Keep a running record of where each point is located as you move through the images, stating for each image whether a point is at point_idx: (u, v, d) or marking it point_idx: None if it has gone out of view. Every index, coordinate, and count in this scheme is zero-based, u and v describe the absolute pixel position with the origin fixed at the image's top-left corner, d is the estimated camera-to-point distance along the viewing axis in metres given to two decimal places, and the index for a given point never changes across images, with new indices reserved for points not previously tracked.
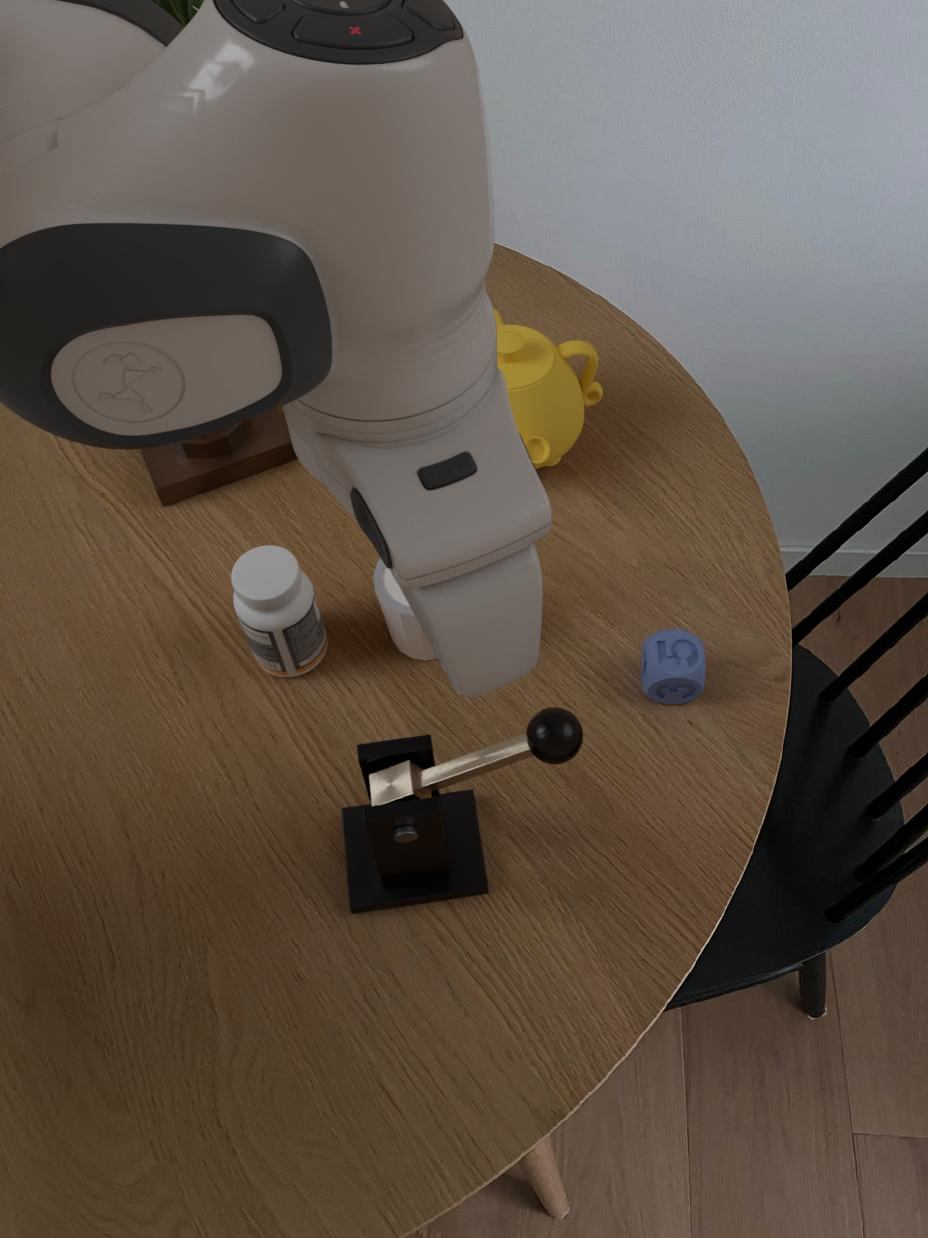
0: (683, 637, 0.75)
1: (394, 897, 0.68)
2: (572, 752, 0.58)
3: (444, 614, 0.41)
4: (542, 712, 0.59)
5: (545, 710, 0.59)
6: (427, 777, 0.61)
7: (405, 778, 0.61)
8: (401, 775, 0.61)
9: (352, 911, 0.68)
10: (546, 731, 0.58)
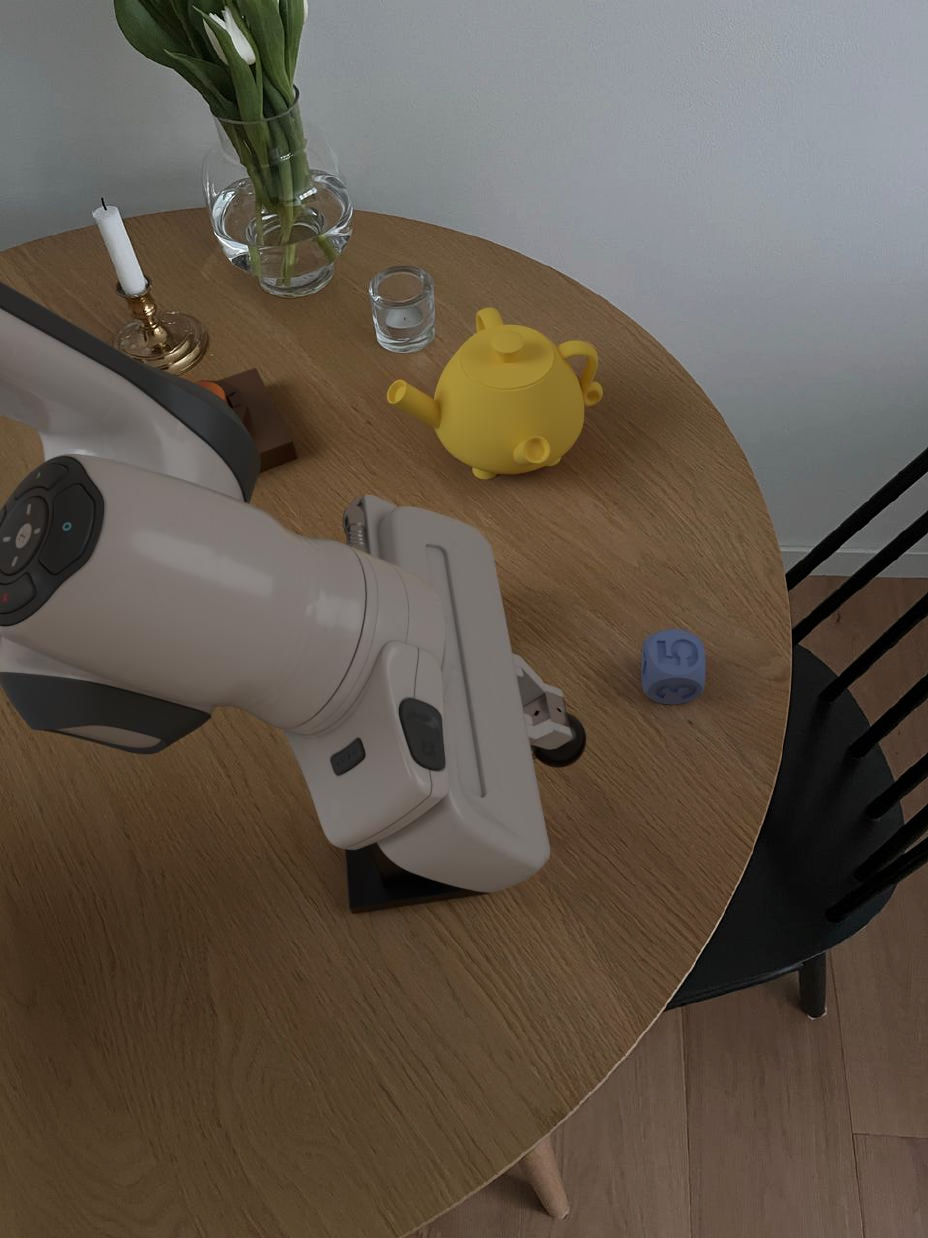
0: (683, 637, 0.75)
1: (394, 897, 0.68)
2: (576, 756, 0.59)
3: (398, 860, 0.47)
4: None
5: None
6: None
7: None
8: None
9: (352, 911, 0.68)
10: None
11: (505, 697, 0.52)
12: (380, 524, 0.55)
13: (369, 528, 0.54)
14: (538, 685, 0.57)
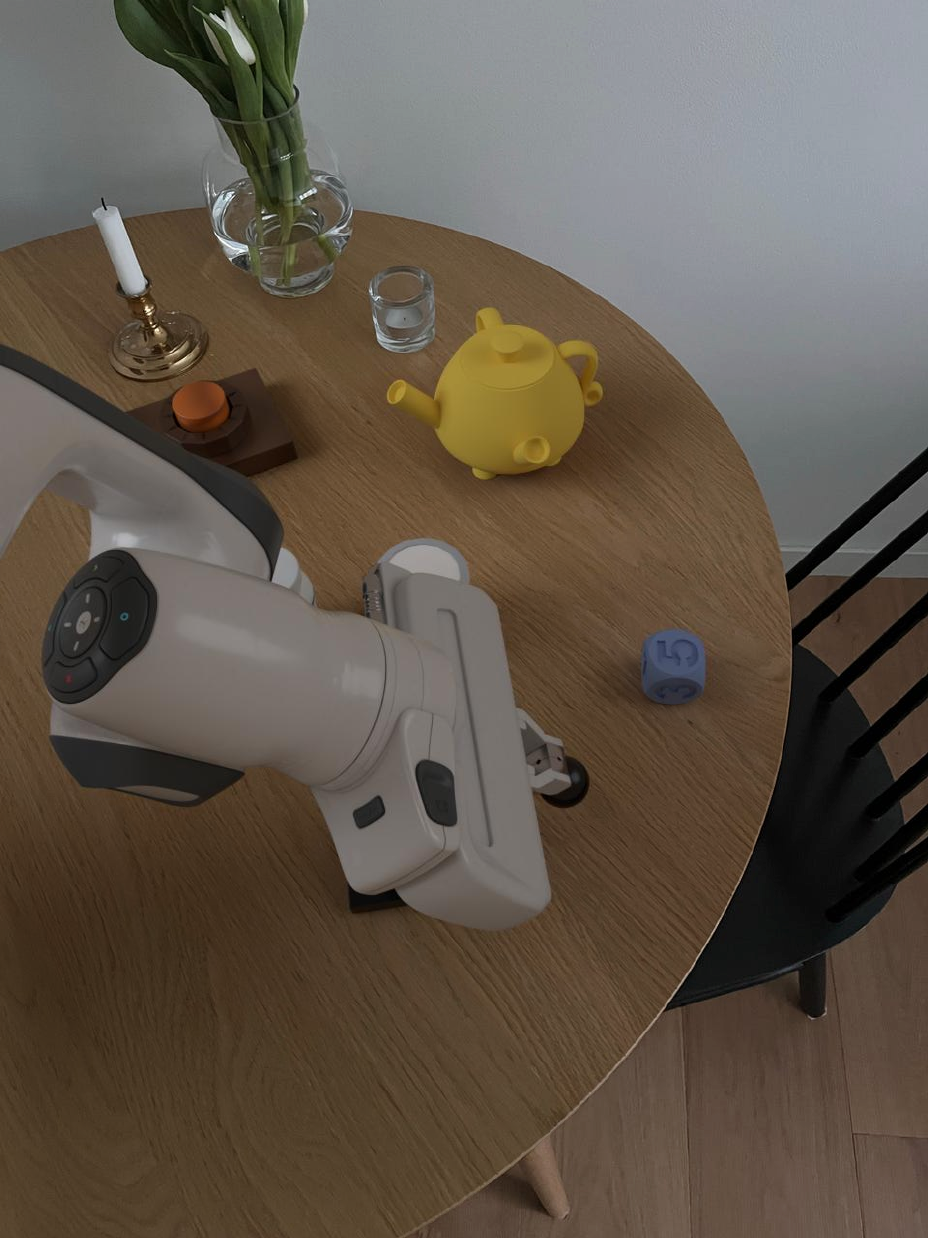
0: (683, 637, 0.75)
1: (394, 897, 0.68)
2: (580, 801, 0.64)
3: (413, 904, 0.52)
4: None
5: (567, 757, 0.64)
6: None
7: None
8: None
9: (352, 911, 0.68)
10: (571, 776, 0.63)
11: (510, 751, 0.57)
12: (395, 590, 0.60)
13: (385, 594, 0.59)
14: (540, 736, 0.62)
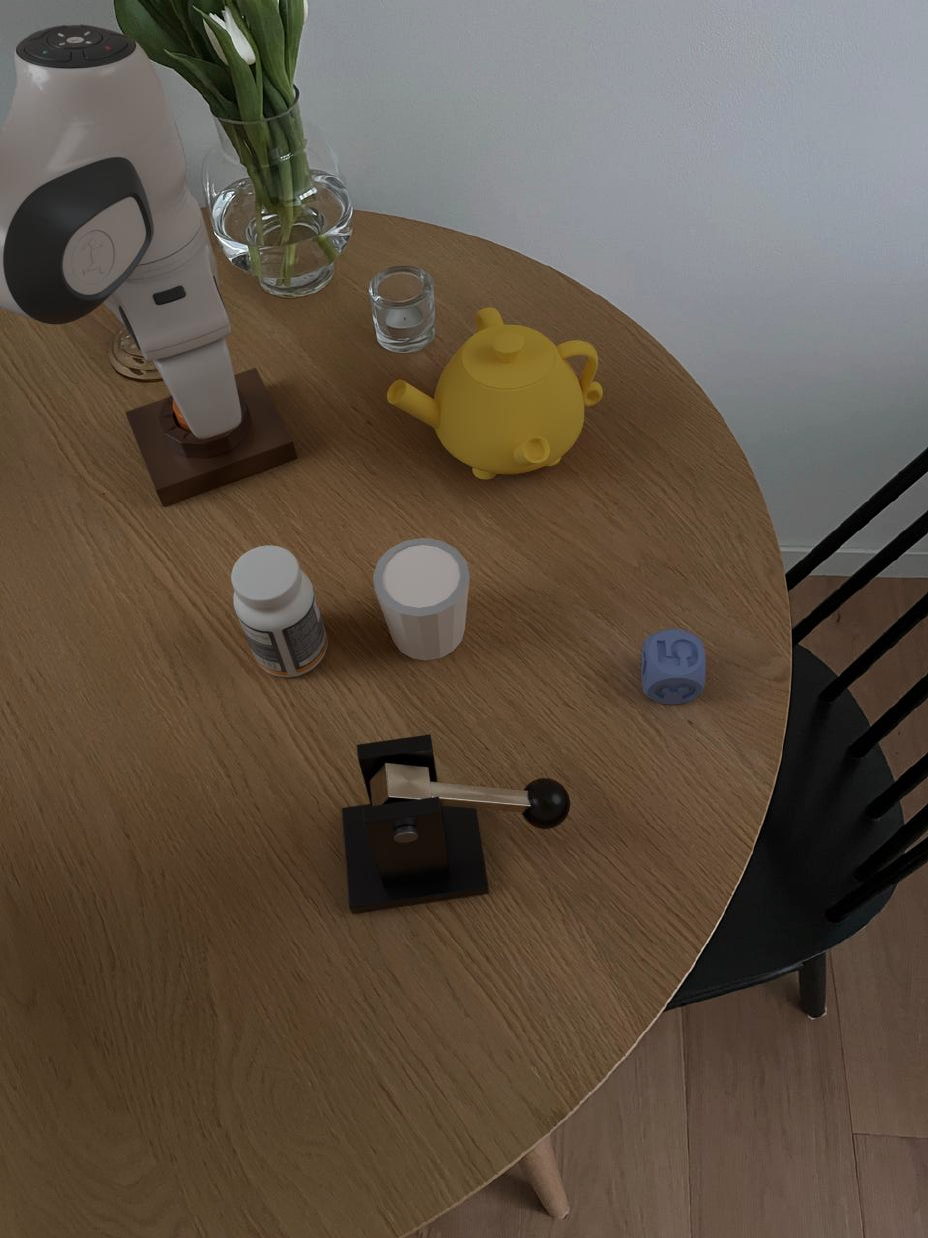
0: (683, 637, 0.75)
1: (394, 897, 0.68)
2: None
3: (172, 377, 0.74)
4: (552, 781, 0.67)
5: (553, 780, 0.67)
6: (436, 790, 0.63)
7: (425, 783, 0.62)
8: (421, 778, 0.62)
9: (352, 911, 0.68)
10: (559, 799, 0.66)
11: None
12: None
13: None
14: None
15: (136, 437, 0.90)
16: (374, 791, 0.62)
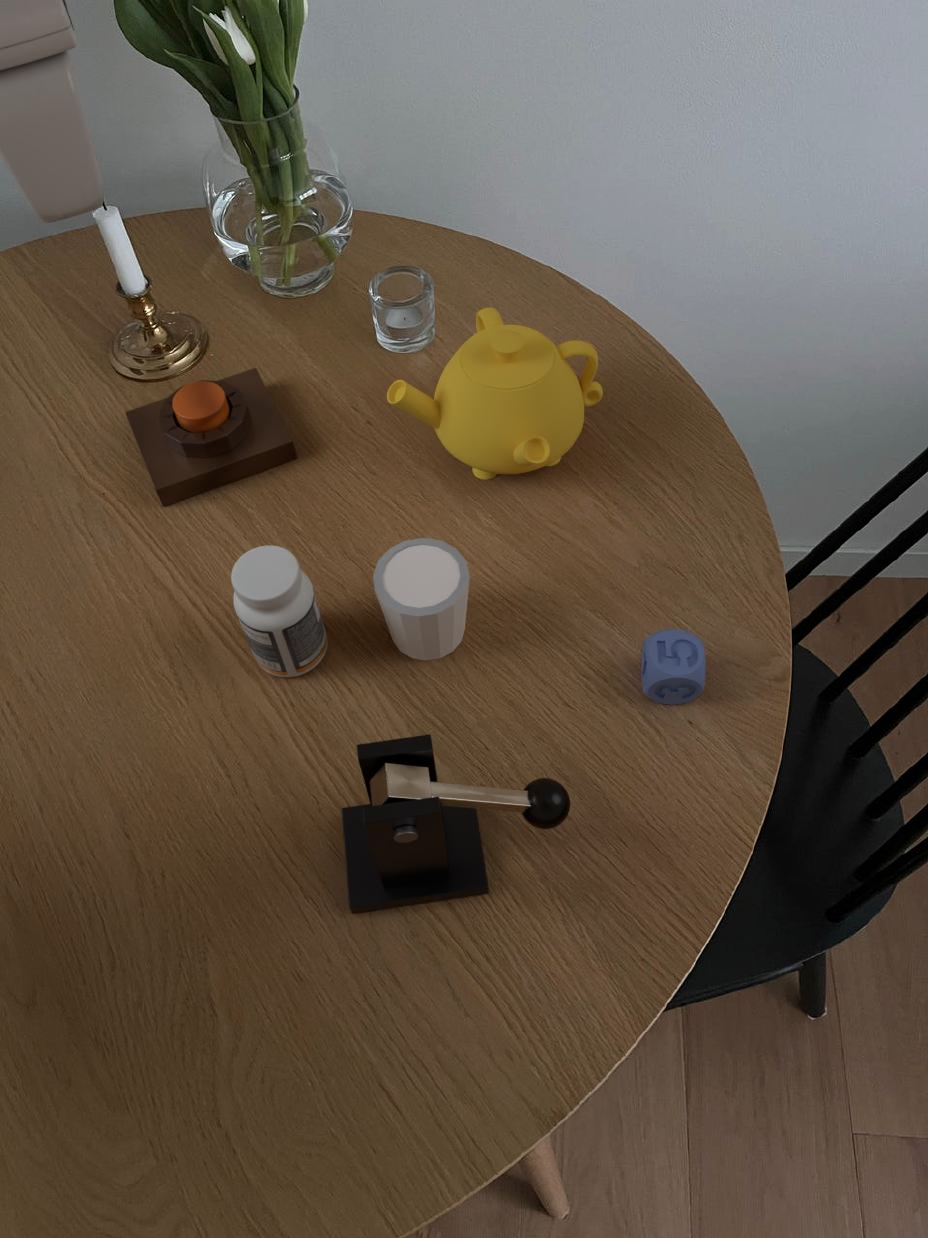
0: (683, 637, 0.75)
1: (394, 897, 0.68)
2: None
3: None
4: (552, 781, 0.67)
5: (553, 780, 0.67)
6: (436, 790, 0.63)
7: (425, 783, 0.62)
8: (421, 778, 0.62)
9: (352, 911, 0.68)
10: (559, 799, 0.66)
11: None
12: None
13: None
14: None
15: (136, 437, 0.90)
16: (374, 791, 0.62)
